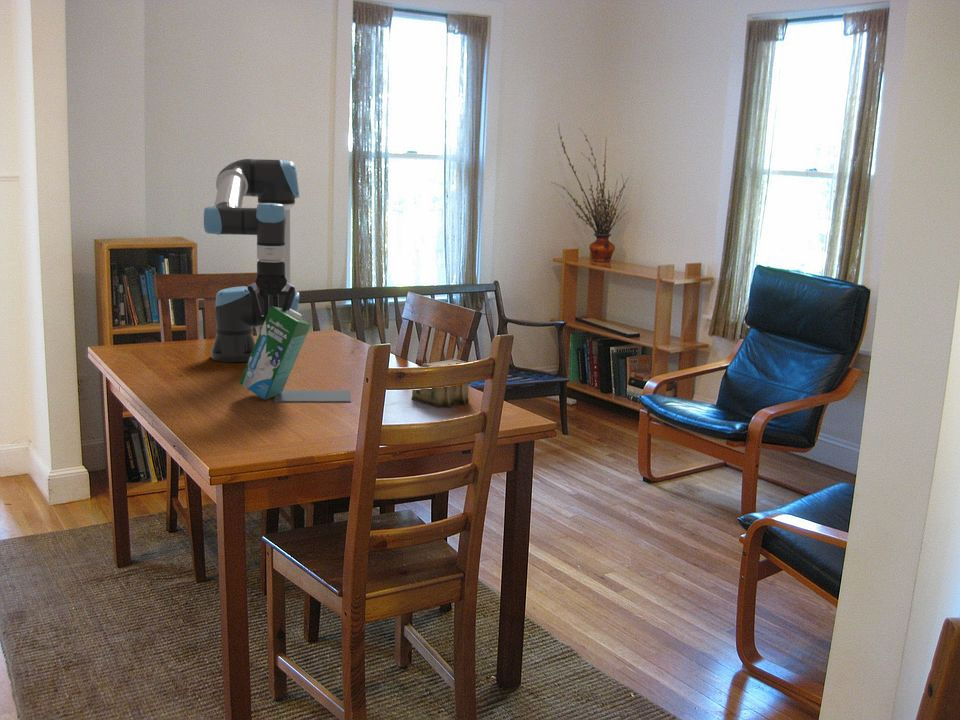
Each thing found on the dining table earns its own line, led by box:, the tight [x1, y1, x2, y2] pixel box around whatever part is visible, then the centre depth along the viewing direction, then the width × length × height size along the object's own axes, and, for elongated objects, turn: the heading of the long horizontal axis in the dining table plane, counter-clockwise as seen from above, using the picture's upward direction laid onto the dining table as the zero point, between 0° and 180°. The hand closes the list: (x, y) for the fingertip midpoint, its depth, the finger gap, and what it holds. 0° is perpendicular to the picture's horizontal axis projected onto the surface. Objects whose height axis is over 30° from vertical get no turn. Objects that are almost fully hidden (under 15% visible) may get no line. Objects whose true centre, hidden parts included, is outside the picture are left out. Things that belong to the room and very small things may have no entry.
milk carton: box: [238, 306, 312, 401], centre depth 263 cm, size 9×9×25 cm
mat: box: [273, 389, 352, 403], centre depth 269 cm, size 12×21×1 cm, turn 98°
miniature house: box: [411, 358, 469, 409], centre depth 271 cm, size 15×14×11 cm
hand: (271, 344), depth 265 cm, fingers closed
